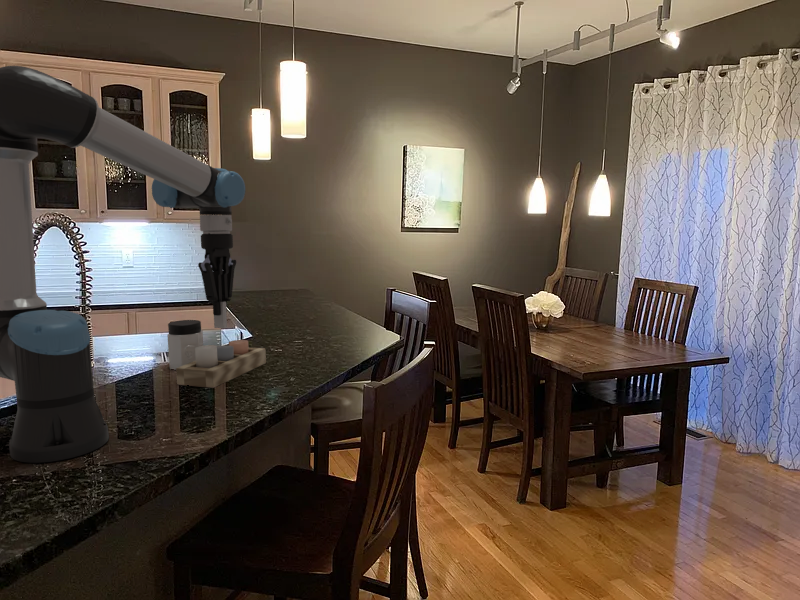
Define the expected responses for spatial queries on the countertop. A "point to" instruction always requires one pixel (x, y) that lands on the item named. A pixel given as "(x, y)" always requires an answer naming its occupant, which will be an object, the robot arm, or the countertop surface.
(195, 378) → the patterned wooden tray
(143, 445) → the countertop surface
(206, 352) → the key ivory
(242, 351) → the brown piece
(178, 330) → the jar
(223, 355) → the grey cylinder
